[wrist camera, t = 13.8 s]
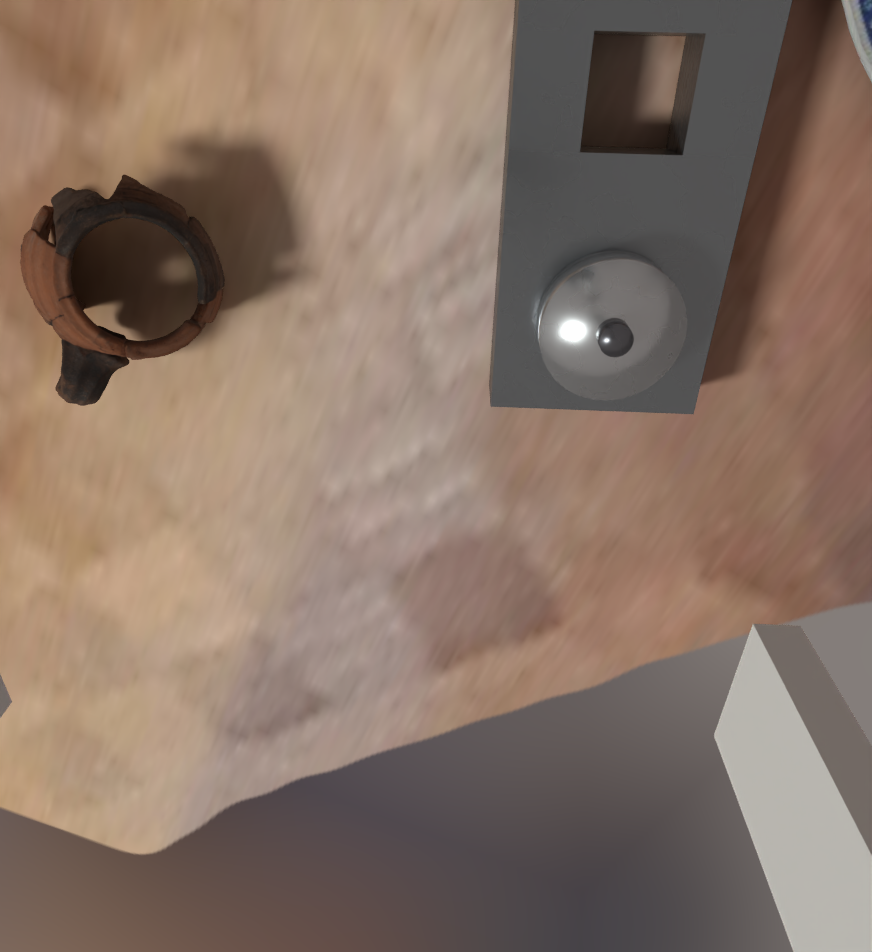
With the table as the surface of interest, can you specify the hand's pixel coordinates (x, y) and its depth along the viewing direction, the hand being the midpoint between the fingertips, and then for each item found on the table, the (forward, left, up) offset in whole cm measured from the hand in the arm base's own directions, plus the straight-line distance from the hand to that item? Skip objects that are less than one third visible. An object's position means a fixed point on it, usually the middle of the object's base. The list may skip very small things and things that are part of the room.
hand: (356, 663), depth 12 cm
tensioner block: (-3, +9, -29) cm, 30 cm away
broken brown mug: (+2, -16, -29) cm, 33 cm away
